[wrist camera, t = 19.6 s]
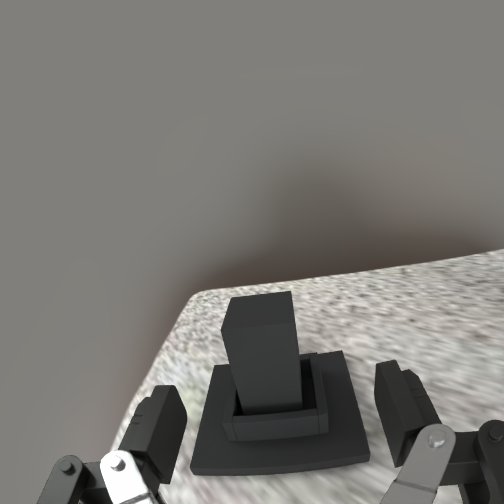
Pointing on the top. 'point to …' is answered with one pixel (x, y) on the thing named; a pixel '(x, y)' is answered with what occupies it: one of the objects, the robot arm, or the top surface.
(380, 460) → the top surface
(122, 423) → the top surface
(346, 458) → the base pad
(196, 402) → the top surface
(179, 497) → the top surface
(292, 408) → the pad block
